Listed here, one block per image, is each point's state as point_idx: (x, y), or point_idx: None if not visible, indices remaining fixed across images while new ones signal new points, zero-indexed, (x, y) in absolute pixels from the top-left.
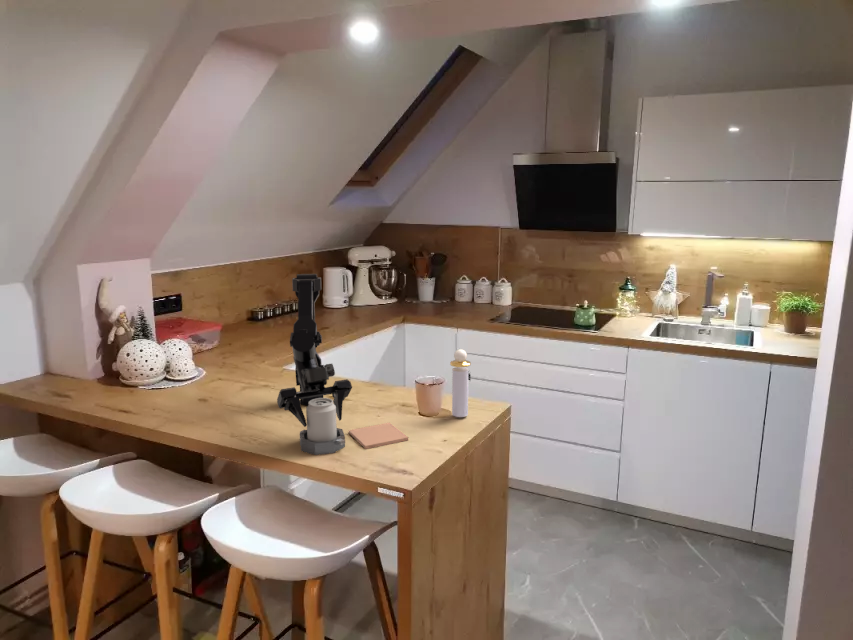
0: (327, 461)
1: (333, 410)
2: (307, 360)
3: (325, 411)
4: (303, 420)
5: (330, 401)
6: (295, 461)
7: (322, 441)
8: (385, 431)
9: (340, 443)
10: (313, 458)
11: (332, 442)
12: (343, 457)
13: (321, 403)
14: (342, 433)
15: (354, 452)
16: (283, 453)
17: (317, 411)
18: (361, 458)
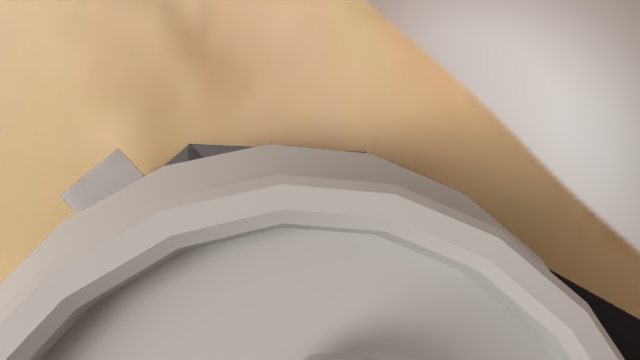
0: (271, 40)
1: (28, 265)
2: None
3: (233, 158)
4: (572, 288)
5: None
6: (486, 109)
7: None
8: None
9: (124, 154)
10: (363, 120)
11: (199, 145)
12: (143, 69)
13: (317, 355)
14: None
15: (34, 133)
16: (569, 273)
17: (411, 182)
18: (11, 9)
